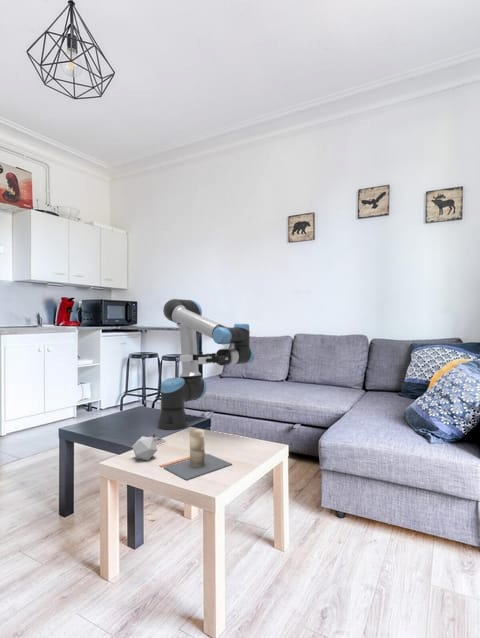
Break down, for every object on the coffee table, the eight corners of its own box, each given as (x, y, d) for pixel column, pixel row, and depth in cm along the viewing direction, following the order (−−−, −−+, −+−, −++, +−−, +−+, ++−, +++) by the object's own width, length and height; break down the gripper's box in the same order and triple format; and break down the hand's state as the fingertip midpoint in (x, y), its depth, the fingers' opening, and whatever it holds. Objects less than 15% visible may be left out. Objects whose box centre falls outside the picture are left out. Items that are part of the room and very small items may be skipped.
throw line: (203, 453, 146) (203, 452, 146) (206, 454, 145) (206, 453, 145) (159, 466, 132) (159, 465, 132) (161, 467, 131) (161, 466, 131)
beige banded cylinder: (198, 461, 136) (198, 428, 136) (207, 464, 132) (207, 431, 132) (187, 465, 132) (186, 431, 132) (196, 468, 128) (195, 434, 129)
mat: (208, 454, 144) (208, 453, 144) (232, 464, 133) (232, 463, 133) (163, 468, 130) (163, 467, 130) (186, 480, 120) (186, 479, 120)
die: (161, 458, 142) (155, 434, 146) (154, 454, 134) (148, 429, 139) (140, 466, 141) (135, 442, 146) (133, 463, 133) (127, 437, 138)
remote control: (157, 449, 152) (157, 441, 152) (135, 441, 162) (135, 434, 162) (169, 445, 157) (170, 438, 157) (148, 438, 167) (148, 431, 167)
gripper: (245, 367, 162) (207, 371, 148) (209, 363, 180) (173, 366, 166) (245, 350, 162) (207, 352, 148) (210, 347, 181) (173, 349, 166)
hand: (189, 359), depth 157 cm, fingers open, 13 cm apart
